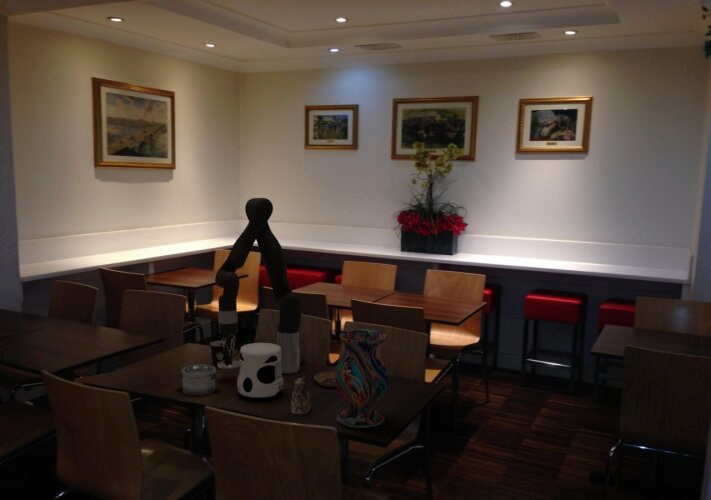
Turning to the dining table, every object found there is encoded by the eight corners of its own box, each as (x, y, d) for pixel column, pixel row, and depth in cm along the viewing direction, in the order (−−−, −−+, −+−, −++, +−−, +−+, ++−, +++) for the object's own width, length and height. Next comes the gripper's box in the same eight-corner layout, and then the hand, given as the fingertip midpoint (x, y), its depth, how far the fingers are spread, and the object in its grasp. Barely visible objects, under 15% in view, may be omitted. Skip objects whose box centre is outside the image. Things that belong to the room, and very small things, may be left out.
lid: (242, 362, 252) (242, 351, 251) (236, 369, 243) (236, 358, 243) (221, 361, 253) (221, 350, 252) (214, 368, 244) (213, 357, 244)
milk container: (233, 388, 239) (233, 343, 237) (277, 384, 246) (277, 340, 243) (241, 404, 223) (241, 356, 221) (288, 400, 229) (289, 352, 227)
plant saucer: (350, 390, 243) (350, 383, 242) (312, 389, 242) (313, 382, 242) (350, 378, 257) (350, 371, 257) (314, 377, 257) (315, 370, 257)
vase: (326, 426, 207) (328, 338, 203) (343, 407, 224) (345, 326, 220) (379, 434, 201) (382, 344, 198) (392, 414, 219) (396, 331, 215)
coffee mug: (206, 367, 264) (206, 344, 263) (216, 362, 272) (216, 339, 271) (230, 370, 261) (231, 347, 260) (240, 365, 269) (240, 342, 268)
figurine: (286, 411, 219) (286, 378, 217) (298, 405, 225) (299, 373, 223) (301, 415, 215) (302, 382, 213) (314, 409, 221) (315, 377, 219)
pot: (225, 386, 242) (225, 365, 241) (214, 397, 230) (214, 375, 229) (184, 383, 244) (184, 363, 243) (171, 394, 232) (171, 373, 231)
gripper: (232, 325, 238) (233, 368, 241) (242, 316, 252) (242, 357, 255) (213, 324, 239) (214, 368, 241) (224, 316, 253) (224, 357, 255)
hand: (228, 362), depth 248 cm, fingers closed on lid, 2 cm apart
